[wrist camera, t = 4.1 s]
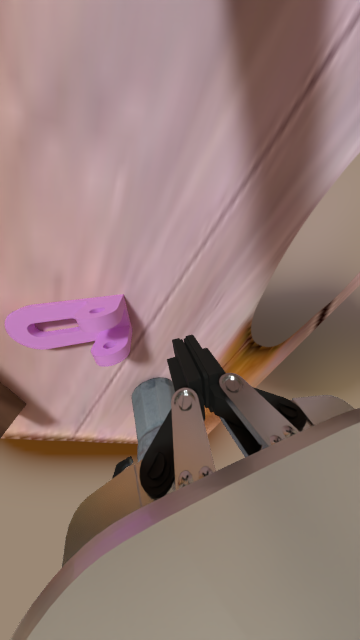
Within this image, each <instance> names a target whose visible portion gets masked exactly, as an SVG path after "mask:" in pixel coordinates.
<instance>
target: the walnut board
mask: <svg viewBox="0 0 360 640" xmlns="http://www.w3.org/2000/svg"><path fill="white" fill-rule="evenodd" d="M25 405H26V403H24V402H23V401H22V400H21V399H20V398H18V397H17V396H16V395H15V394H14V393H12V392H11V391H10V390H9V389H8V388H7V387H5V386H4V385H3V384H2V383H1V382H0V438H1V437H2V435H3V434H4V433H5V431H6V430H7V429H8V428H9V426H10V425H11V424H12V422H13V421H14V420H15V418H16V417H17V416H18V414H19V413H20V412H21V410H22V409H23V408H24V407H25Z"/></svg>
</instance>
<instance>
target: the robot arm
mask: <svg viewBox="0 0 360 640" xmlns="http://www.w3.org/2000/svg"><path fill="white" fill-rule="evenodd" d="M172 342H173V348H174V353H175V357H173V358H170V359H167V362H168V366H169V370H170V374H171V378H172V382H173V386H174V390H175V393H174V394H173V396H172V400H171V410H170V411H169V413H168V415H167V417H166V418H165V420H164V422H163V424H162V425H161V427H160V429H159V431H158V432H157V434H156V436H155V438H154V439H153V441H152V443H151V444H150V446H149V448H148V450H147V451H146V453H145V455H144V457H143V459H142V460H141V461H139V462H138V463H137V464H135V465H134V464H132V465H131V466H129V467H128V468H126V469H125V470H124V471H122V472H121V473H120V474H118V475H117V476H116V477H114V478H113V479H112V480H110V481H109V482H108V483H106V484H105V485H103V486H102V487H100V488H99V489H98V490H96V491H95V492H94V493H92V494H91V495H90V496H88V497H87V498H86V499H85V500H84V501H83V502H82V503H81V504H80V506H79V507H78V508H77V510H76V511H75V513H74V515H73V517H72V519H71V522H70V524H69V527H68V531H67V535H66V540H65V548H64V555H63V563H62V568H61V569H60V571H59V572H58V573H57V574H56V575H55V576H54V577H53V579H52V580H51V581H50V582H49V583H48V585H47V586H46V587H45V588H44V590H43V591H42V592H41V594H40V595H39V596H38V597H37V599H36V600H35V601H34V603H33V604H32V606H31V607H30V608H29V610H28V611H27V613H26V614H25V616H24V617H23V619H22V620H21V622H20V624H19V625H18V627H17V629H16V630H15V632H14V633H13V635H12V637H11V639H10V640H360V408H358V409H354V408H353V407H352V406H351V405H349V404H348V403H347V402H345V401H344V400H342V399H340V398H338V397H334V396H331V395H322V396H311V397H301V398H293V399H292V400H288V399H286V398H283V397H280V396H277V395H274V394H271V393H268V392H265V391H262V390H259V389H256V388H253V387H251V386H250V385H249V384H248V383H247V382H246V381H245V380H244V379H243V378H242V377H240V376H239V375H237V374H234V373H225V371H224V370H223V369H222V367H221V366H220V364H219V363H218V362H217V360H216V359H215V358H214V356H213V355H212V354H211V352H210V351H209V350H208V348H204V349H202V347H201V346H200V344H199V343H198V342H197V340H196V339H195V337H194V336H193V335H189V336H186V338H185V339H184V342H183V340H182V339H181V340H180V339H179V338H178V339H174V340H172ZM204 405H205V407H206V408H209V410H210V412H213V411H214V413H215V415H217V416H219V417H220V419H221V421H222V422H223V424H224V425H225V427H226V429H227V430H228V431H229V433H230V435H231V436H232V438H233V439H234V440H235V442H236V444H237V445H238V447H239V448H240V450H241V451H242V453H243V454H244V456H245V458H243V459H241V460H239V461H237V462H235V463H233V464H231V465H228V466H227V467H224V468H222V469H220V470H218V471H216V470H215V466H214V462H213V457H212V454H211V449H210V445H209V441H208V437H207V433H206V428H205V424H204V421H205V408H204Z"/></svg>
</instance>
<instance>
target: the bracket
mask: <svg viewBox="0 0 360 640" xmlns="http://www.w3.org/2000/svg"><path fill="white" fill-rule="evenodd" d="M69 318H73V319H76V321H77V323H78V325H79V327H75V328H68V329H62V330H55V331H48V332H44V331H41V330H39V329H37V328H36V327H35V323H41V322H48V321H55V320H62V319H69ZM5 329H6V331H7V333H8V334H9V335H10V337H11V338H13V339H14V340H15V341H16V342H18V343H20V344H22V345H24V346H27V347H30V348H34V349H51V348H57V347H62V346H68V345H74V344H80V343H85V342H91V341H95V343H94V345H93V347H92V349H91V353H92V355H93V357H94V359H95V361H96V363H97V364H98V365H99V366H112V365H115V364H117V363H119V362H121V361H123V360H124V359H125V358H126V357H127V356H128V355H129V353H130V347H131V339H132V326H131V322H130V318H129V314H128V310H127V306H126V302H125V298H124V294H121V295H113V296H104V297H95V298H87V299H78V300H69V301H60V302H52V303H43V304H34V305H28V306H25V307H22V308H20V309H18V310H16V311H14V312H12V313H10V314H9V315H8V316H7V318H6V320H5Z"/></svg>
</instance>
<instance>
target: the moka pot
mask: <svg viewBox="0 0 360 640" xmlns="http://www.w3.org/2000/svg"><path fill="white" fill-rule="evenodd" d="M174 393H175V390H174V386H173V382H172V381H171V380H169V379H166V378H153V379H150V380H148V381H146V382H143V383H142V384H140V385H139V386H138V387H137V388H136V389H135V390H134V392H133V394H132V404H133V411H134V417H135V424H136V433H137V439H138V462H139V461H141V460H142V459H143V457H144V455H145V453H146V451H147V450H148V448H149V446H150V444H151V443H152V441H153V439H154V438H155V436H156V434H157V432H158V431H159V429H160V427H161V425H162V424H163V422H164V420H165V418H166V417H167V415H168V413H169V411H170V410H171V400H172V396H173V394H174ZM132 463H133V460H132V457H131V456H130V457H128V458H127V459H125V460H123V461H121V462H120V463H118V464H117V465H116V468H115V472H114V475H113V478H114V477H116V476H117V475H118V474H120V473H121V472H122V471H124V469H125V468H126V467H128V466H131V465H132ZM113 478H112V479H113Z"/></svg>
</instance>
